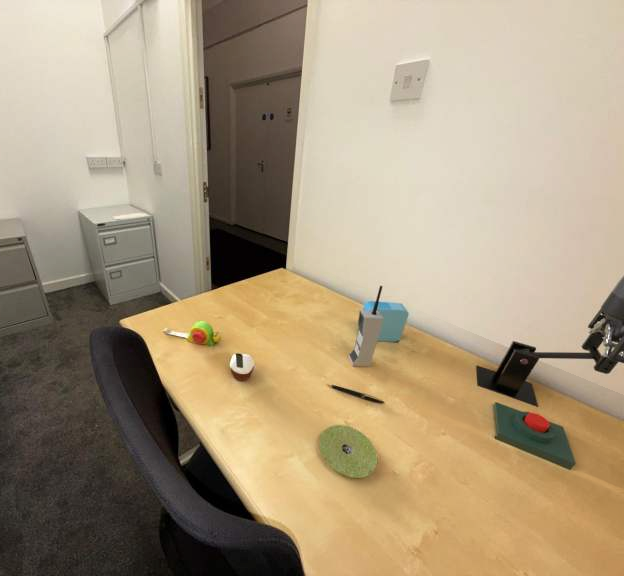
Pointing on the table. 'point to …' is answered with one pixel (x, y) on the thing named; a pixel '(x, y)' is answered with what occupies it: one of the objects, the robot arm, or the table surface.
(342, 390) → the fountain pen
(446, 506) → the table surface
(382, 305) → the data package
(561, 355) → the switch lever
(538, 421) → the button
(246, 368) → the cupcake
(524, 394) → the switch bracket
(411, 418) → the table surface
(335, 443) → the green grinding wheel
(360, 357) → the vintage mobile phone
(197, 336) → the toy measuring tape
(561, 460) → the control block
